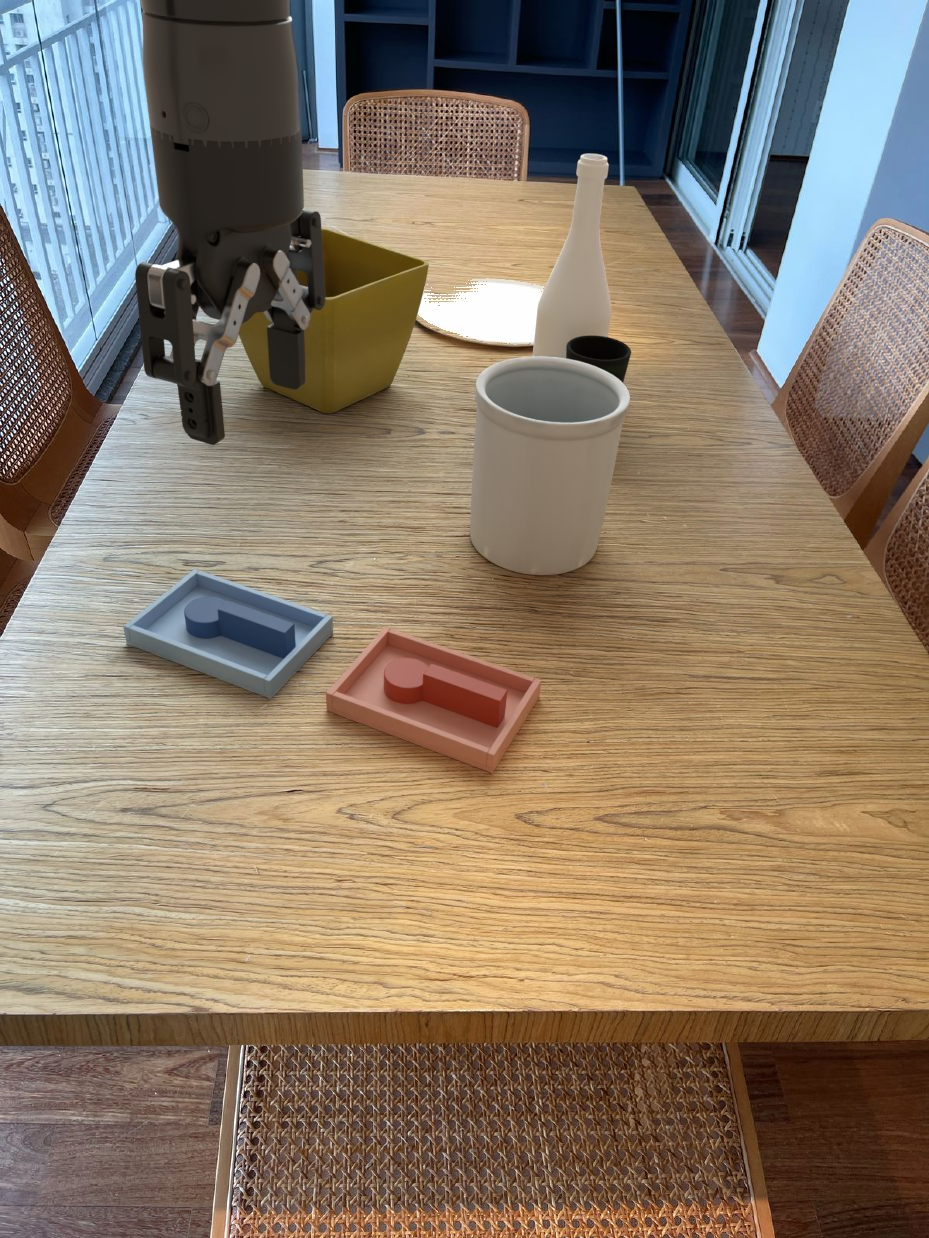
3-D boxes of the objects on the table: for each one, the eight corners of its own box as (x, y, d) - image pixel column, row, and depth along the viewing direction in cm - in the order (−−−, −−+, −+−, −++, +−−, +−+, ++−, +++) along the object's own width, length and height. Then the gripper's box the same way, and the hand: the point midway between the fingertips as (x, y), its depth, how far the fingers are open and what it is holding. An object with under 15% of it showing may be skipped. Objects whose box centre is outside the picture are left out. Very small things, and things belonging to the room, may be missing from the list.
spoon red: (510, 707, 85) (513, 681, 83) (491, 737, 82) (494, 710, 80) (397, 667, 88) (397, 641, 86) (375, 694, 85) (375, 667, 83)
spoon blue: (303, 642, 90) (302, 616, 88) (278, 667, 87) (277, 641, 85) (203, 607, 93) (200, 580, 91) (176, 630, 90) (173, 603, 88)
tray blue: (333, 633, 92) (332, 616, 91) (271, 699, 84) (269, 681, 83) (196, 585, 97) (194, 568, 95) (126, 643, 89) (122, 626, 88)
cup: (542, 435, 126) (553, 344, 118) (583, 419, 130) (596, 330, 123) (587, 459, 121) (601, 366, 114) (628, 442, 126) (644, 351, 118)
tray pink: (539, 697, 87) (541, 679, 85) (492, 773, 79) (494, 755, 78) (384, 643, 91) (384, 626, 90) (326, 710, 84) (325, 692, 83)
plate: (595, 293, 168) (596, 285, 167) (587, 361, 145) (588, 353, 144) (424, 274, 170) (424, 267, 170) (389, 338, 147) (389, 330, 147)
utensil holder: (622, 575, 102) (652, 419, 91) (480, 585, 99) (494, 425, 89) (580, 501, 113) (603, 354, 103) (452, 508, 111) (461, 357, 100)
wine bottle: (610, 392, 137) (647, 157, 119) (578, 416, 131) (612, 171, 112) (550, 373, 141) (577, 143, 123) (515, 395, 134) (538, 156, 116)
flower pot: (428, 386, 135) (433, 260, 125) (331, 433, 123) (328, 298, 112) (324, 346, 144) (321, 226, 133) (224, 387, 131) (212, 258, 121)
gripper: (245, 87, 57) (263, 357, 67) (67, 130, 47) (119, 444, 56) (360, 106, 55) (361, 383, 65) (200, 156, 44) (231, 478, 54)
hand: (248, 411), depth 60 cm, fingers open, 8 cm apart
